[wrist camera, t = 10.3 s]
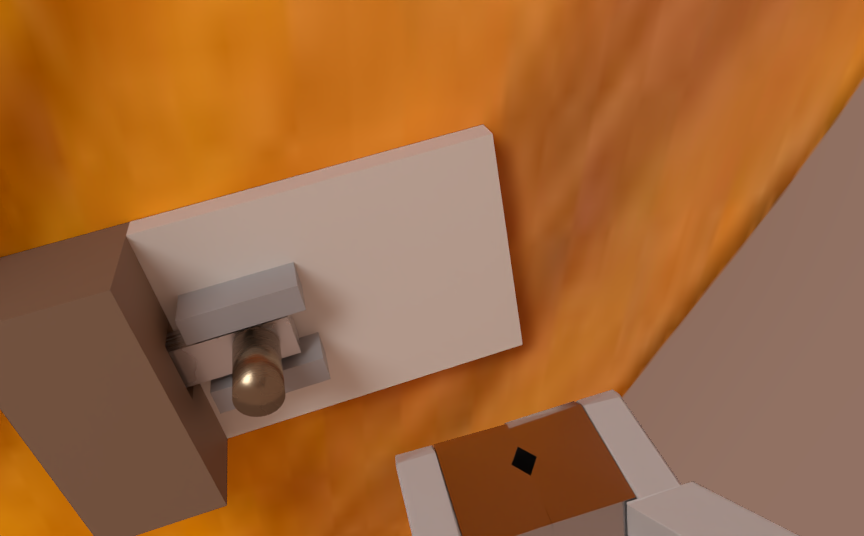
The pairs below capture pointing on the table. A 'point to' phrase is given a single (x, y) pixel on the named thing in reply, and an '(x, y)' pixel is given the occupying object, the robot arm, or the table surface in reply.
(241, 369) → the bolt
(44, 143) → the table surface
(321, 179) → the door plate
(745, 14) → the table surface
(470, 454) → the robot arm
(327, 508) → the table surface
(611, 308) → the table surface
